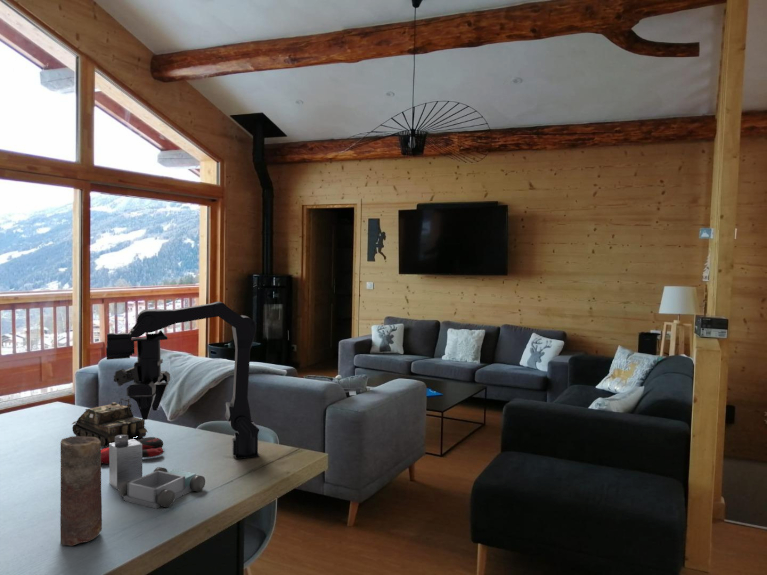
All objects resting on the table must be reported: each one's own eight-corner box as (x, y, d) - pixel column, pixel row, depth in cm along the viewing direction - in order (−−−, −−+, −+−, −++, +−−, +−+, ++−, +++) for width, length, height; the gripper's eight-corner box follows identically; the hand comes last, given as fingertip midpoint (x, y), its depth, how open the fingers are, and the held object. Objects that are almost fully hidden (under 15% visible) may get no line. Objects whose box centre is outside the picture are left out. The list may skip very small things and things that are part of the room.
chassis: (164, 478, 149) (164, 463, 149) (206, 488, 143) (206, 471, 143) (117, 498, 136) (117, 481, 136) (162, 510, 130) (162, 492, 130)
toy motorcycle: (66, 462, 164) (64, 471, 150) (66, 443, 165) (64, 450, 150) (161, 452, 175) (167, 460, 161) (161, 435, 176) (168, 441, 162)
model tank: (110, 427, 194) (110, 382, 193) (150, 440, 181) (150, 391, 180) (70, 436, 183) (70, 388, 183) (110, 450, 170) (110, 399, 170)
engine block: (134, 477, 149) (134, 430, 149) (142, 483, 145) (142, 435, 145) (109, 483, 145) (109, 435, 145) (117, 489, 141) (116, 440, 141)
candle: (71, 529, 120) (70, 433, 119) (108, 529, 121) (107, 433, 120) (53, 548, 113) (52, 445, 112) (93, 547, 113) (92, 444, 112)
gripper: (129, 351, 165) (130, 406, 166) (104, 363, 146) (106, 425, 147) (170, 351, 166) (171, 405, 167) (150, 363, 147) (152, 424, 148)
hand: (150, 414), depth 157 cm, fingers open, 9 cm apart
